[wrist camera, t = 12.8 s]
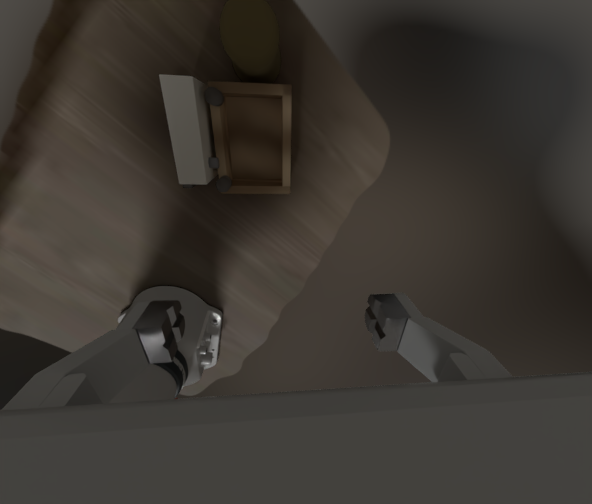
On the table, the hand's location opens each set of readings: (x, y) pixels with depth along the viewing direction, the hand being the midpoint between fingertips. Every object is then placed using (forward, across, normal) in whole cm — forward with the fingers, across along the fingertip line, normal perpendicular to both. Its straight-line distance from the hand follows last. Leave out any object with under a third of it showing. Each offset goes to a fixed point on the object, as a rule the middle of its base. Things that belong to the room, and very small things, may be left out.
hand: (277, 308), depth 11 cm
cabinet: (+29, -5, +5) cm, 30 cm away
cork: (+29, -2, +14) cm, 33 cm away
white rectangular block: (+29, -9, +6) cm, 31 cm away
